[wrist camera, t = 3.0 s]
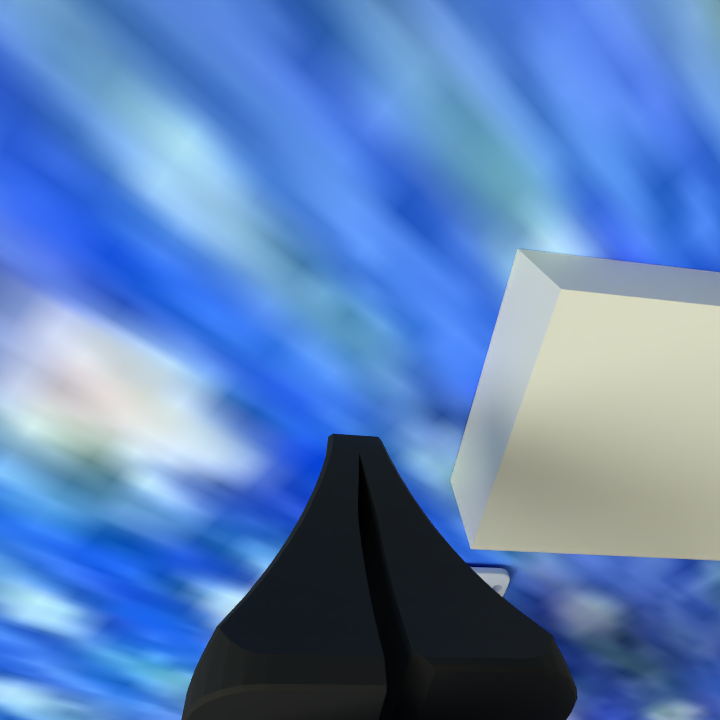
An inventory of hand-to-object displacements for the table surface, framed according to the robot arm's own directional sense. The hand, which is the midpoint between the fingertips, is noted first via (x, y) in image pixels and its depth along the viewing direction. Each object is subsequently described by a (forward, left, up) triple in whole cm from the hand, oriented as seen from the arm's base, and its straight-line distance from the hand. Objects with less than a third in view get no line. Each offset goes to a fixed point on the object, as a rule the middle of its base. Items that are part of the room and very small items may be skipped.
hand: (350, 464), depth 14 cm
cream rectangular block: (0, -12, -5) cm, 13 cm away
